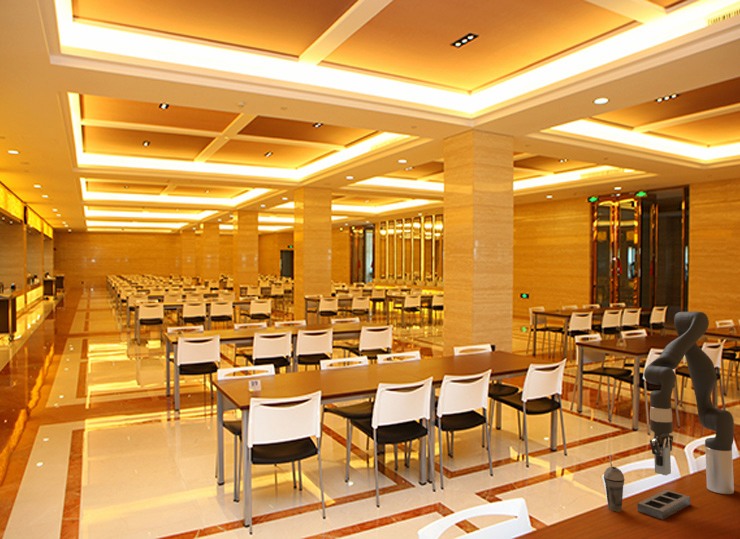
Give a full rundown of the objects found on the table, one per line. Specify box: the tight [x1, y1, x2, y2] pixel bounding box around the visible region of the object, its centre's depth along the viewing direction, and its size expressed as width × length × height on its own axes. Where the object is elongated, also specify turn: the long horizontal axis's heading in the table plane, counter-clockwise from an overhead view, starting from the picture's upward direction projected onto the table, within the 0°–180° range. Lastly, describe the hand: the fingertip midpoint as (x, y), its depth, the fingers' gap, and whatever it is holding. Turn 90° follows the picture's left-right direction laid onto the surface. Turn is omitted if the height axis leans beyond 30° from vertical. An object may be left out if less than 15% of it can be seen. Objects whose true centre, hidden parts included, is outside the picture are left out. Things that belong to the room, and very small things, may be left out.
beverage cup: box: [603, 454, 625, 513], centre depth 192 cm, size 7×7×20 cm
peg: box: [653, 446, 672, 476], centre depth 194 cm, size 4×4×10 cm
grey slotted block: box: [637, 489, 691, 520], centre depth 193 cm, size 22×9×3 cm, turn 125°
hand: (662, 464), depth 193 cm, fingers closed on peg, 4 cm apart
